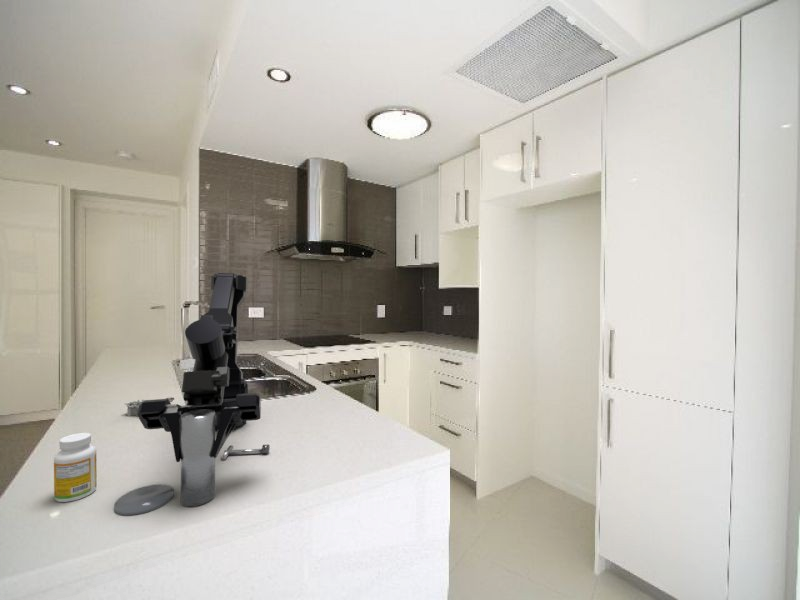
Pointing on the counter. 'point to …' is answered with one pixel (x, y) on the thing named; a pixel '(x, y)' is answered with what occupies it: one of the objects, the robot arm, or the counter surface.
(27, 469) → the counter surface
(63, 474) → the supplement bottle
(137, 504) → the coaster
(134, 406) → the egg carton
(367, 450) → the counter surface
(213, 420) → the grey cylindrical piece
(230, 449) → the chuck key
